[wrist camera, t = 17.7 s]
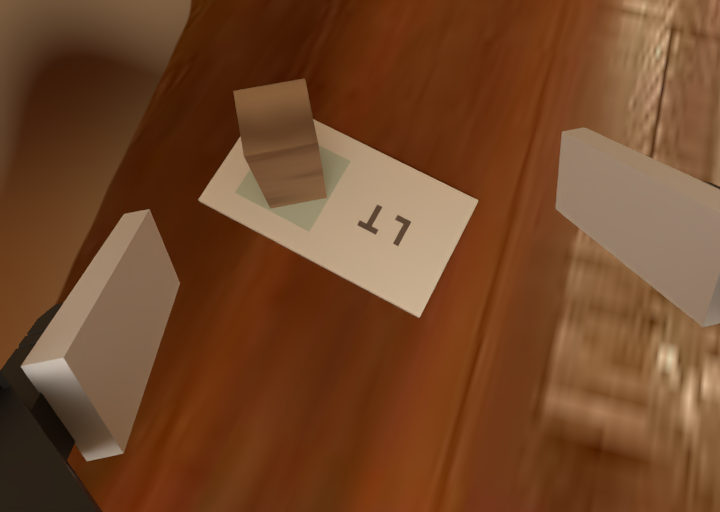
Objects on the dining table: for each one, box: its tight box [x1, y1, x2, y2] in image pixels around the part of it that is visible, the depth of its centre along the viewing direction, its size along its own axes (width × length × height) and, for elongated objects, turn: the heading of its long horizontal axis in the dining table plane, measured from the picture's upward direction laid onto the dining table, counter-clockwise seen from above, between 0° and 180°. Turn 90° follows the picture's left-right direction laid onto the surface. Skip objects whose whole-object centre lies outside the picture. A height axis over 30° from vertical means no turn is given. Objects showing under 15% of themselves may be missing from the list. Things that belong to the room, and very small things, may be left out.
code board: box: [198, 119, 479, 318], centre depth 49 cm, size 14×26×1 cm, turn 62°
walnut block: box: [233, 79, 327, 209], centre depth 44 cm, size 6×6×12 cm
